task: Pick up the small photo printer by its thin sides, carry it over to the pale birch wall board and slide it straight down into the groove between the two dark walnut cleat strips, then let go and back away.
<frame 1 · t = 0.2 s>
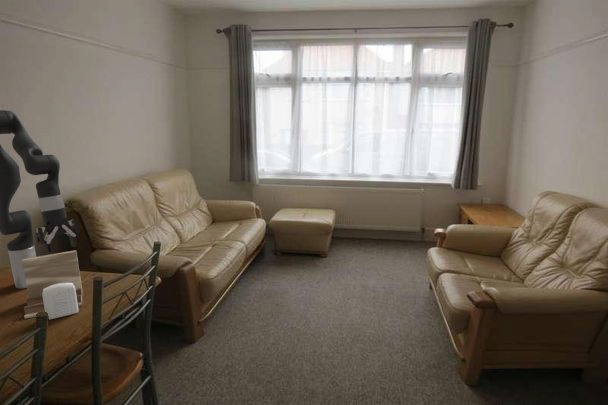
hand: (62, 249, 139), 23 cm above the table, tool pointing down, fingers open, 8 cm apart
cleat board: (55, 305, 143), on the table
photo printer: (63, 315, 136), on the table
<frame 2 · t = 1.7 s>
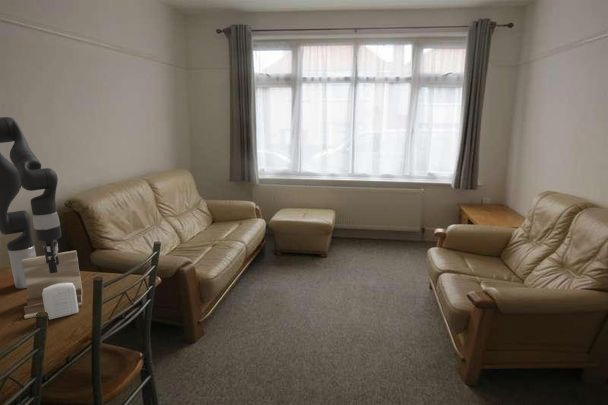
hand: (54, 268, 132), 18 cm above the table, tool pointing down, fingers open, 8 cm apart
nothing on the table moved.
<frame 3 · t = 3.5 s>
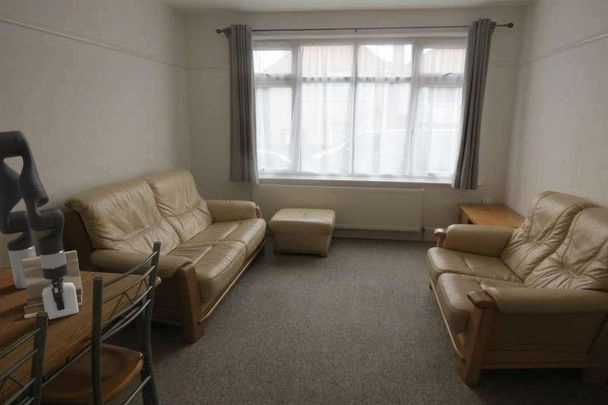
hand: (61, 306, 136), 3 cm above the table, tool pointing down, fingers closed on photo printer, 4 cm apart
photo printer: (63, 315, 136), on the table, touching gripper
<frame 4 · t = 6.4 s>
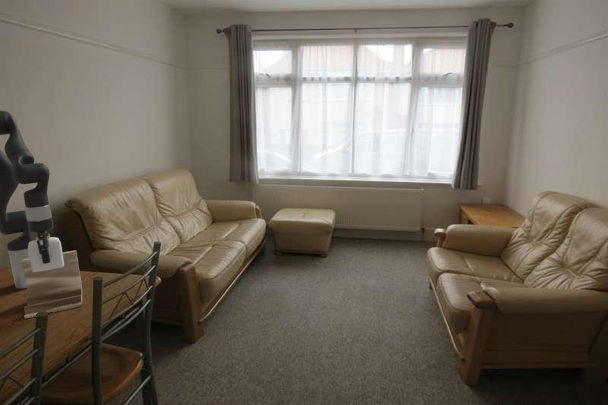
hand: (47, 260, 139), 19 cm above the table, tool pointing down, fingers closed on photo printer, 4 cm apart
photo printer: (48, 269, 140), point 15 cm above the table, touching gripper
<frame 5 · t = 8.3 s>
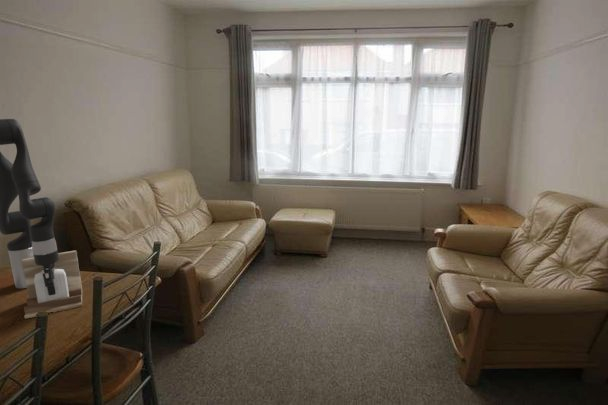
hand: (52, 291, 142), 6 cm above the table, tool pointing down, fingers closed on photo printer, 4 cm apart
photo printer: (54, 300, 143), point 2 cm above the table, touching gripper
when the fingers open (5 cm above the table, at t = 9.5 s): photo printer stays where it is, resting on cleat board.
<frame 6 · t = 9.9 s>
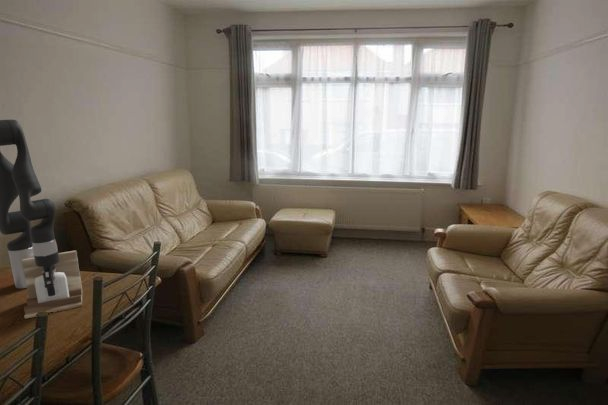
hand: (52, 291, 142), 6 cm above the table, tool pointing down, fingers open, 8 cm apart
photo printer: (54, 303, 143), point 1 cm above the table, touching cleat board
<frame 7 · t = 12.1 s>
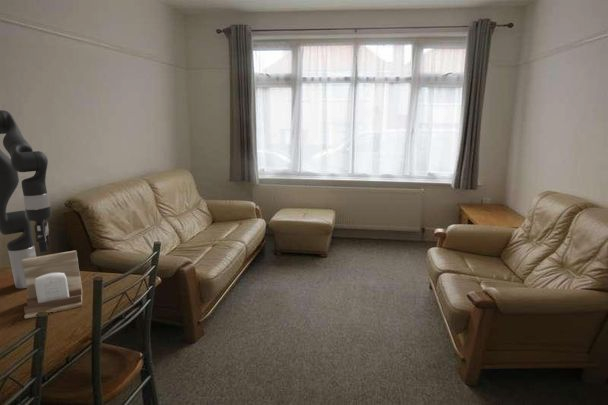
hand: (45, 248, 138), 24 cm above the table, tool pointing down, fingers open, 8 cm apart
nothing on the table moved.
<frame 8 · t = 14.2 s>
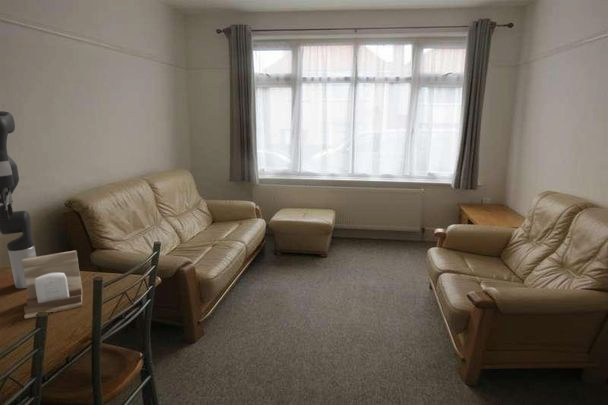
hand: (7, 218, 134), 36 cm above the table, tool pointing down, fingers open, 8 cm apart
nothing on the table moved.
at the end: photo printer inside the target area on the cleat board (0.1 cm from its centre), point 0.8 cm above the cleat board's base; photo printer tilted 0°; the gripper is holding nothing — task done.
